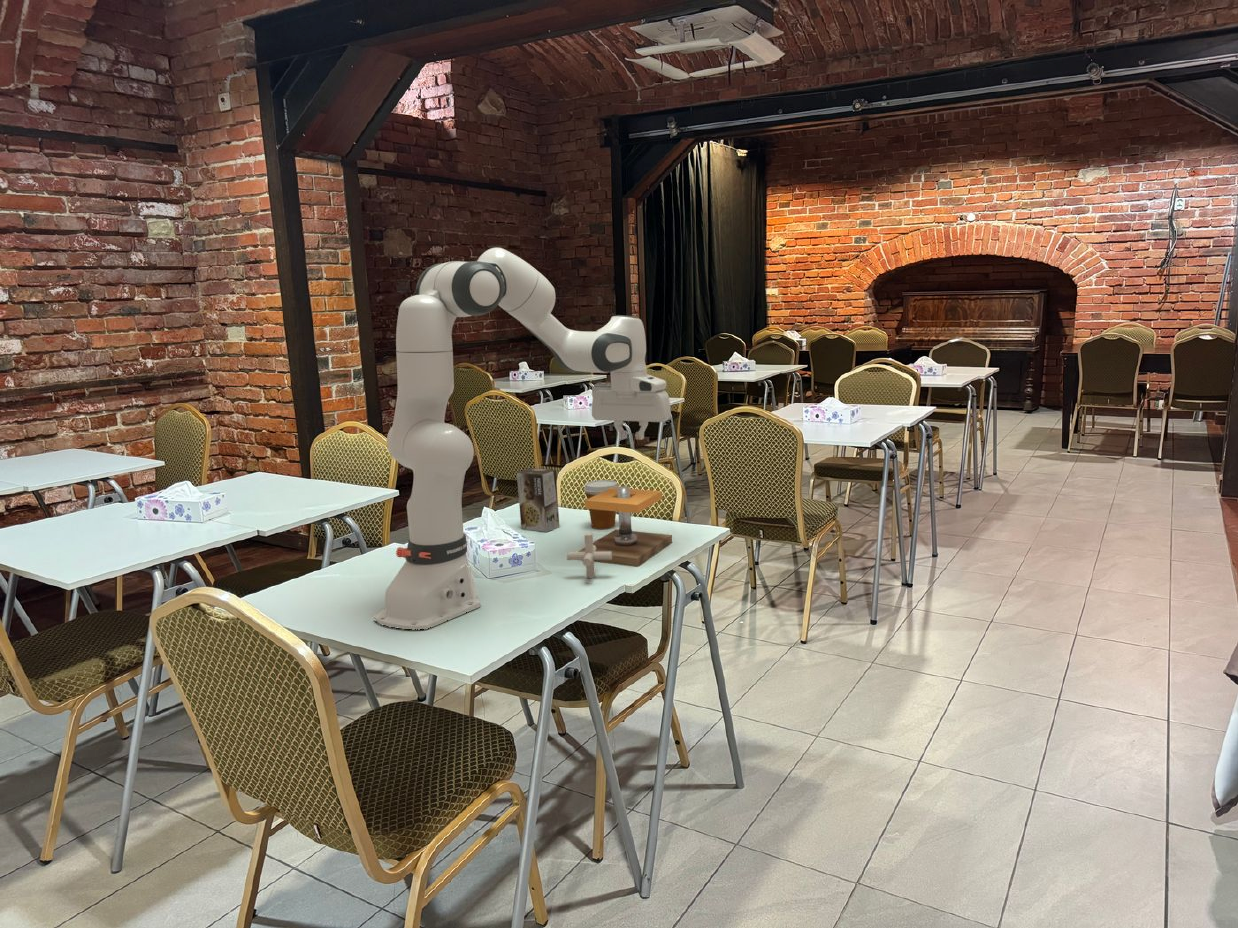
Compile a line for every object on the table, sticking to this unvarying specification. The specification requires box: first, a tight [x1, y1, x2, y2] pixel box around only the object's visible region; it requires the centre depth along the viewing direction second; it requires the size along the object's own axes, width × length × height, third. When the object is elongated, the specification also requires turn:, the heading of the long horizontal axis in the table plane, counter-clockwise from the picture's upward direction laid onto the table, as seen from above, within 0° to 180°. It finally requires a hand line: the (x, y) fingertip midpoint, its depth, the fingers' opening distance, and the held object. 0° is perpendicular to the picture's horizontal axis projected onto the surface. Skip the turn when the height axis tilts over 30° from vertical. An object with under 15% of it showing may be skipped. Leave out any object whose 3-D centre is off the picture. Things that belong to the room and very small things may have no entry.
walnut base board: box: [577, 528, 673, 567], centre depth 209 cm, size 20×16×2 cm
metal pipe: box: [614, 485, 637, 546], centre depth 208 cm, size 6×6×14 cm
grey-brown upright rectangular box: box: [516, 467, 560, 533], centre depth 232 cm, size 9×6×16 cm
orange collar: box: [584, 488, 663, 514], centre depth 207 cm, size 14×14×2 cm
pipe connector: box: [566, 532, 612, 579], centre depth 191 cm, size 10×10×10 cm
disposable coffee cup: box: [583, 479, 620, 530], centre depth 231 cm, size 10×10×12 cm
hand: (631, 438), depth 209 cm, fingers open, 3 cm apart
